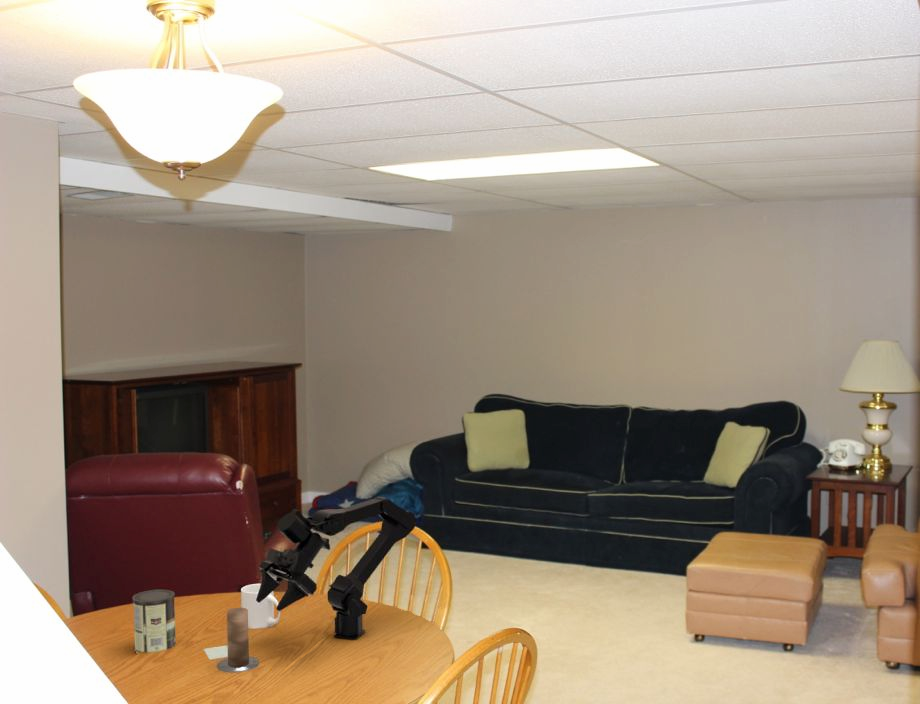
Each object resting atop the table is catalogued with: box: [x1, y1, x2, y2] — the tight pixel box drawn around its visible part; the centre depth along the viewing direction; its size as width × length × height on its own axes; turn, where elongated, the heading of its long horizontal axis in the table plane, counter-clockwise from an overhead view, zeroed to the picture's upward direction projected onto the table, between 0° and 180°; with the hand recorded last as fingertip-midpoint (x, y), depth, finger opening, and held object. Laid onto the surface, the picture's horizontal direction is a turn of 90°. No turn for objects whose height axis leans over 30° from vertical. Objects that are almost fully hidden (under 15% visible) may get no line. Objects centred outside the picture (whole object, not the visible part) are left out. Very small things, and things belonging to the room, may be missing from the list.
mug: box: [240, 583, 281, 630], centre depth 274 cm, size 9×12×11 cm
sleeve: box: [226, 607, 250, 667], centre depth 245 cm, size 5×5×13 cm
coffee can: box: [132, 589, 177, 654], centre depth 258 cm, size 10×10×14 cm
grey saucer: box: [216, 656, 260, 674], centre depth 245 cm, size 10×10×1 cm
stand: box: [203, 644, 228, 661], centre depth 254 cm, size 8×8×1 cm
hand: (267, 605), depth 250 cm, fingers open, 9 cm apart
